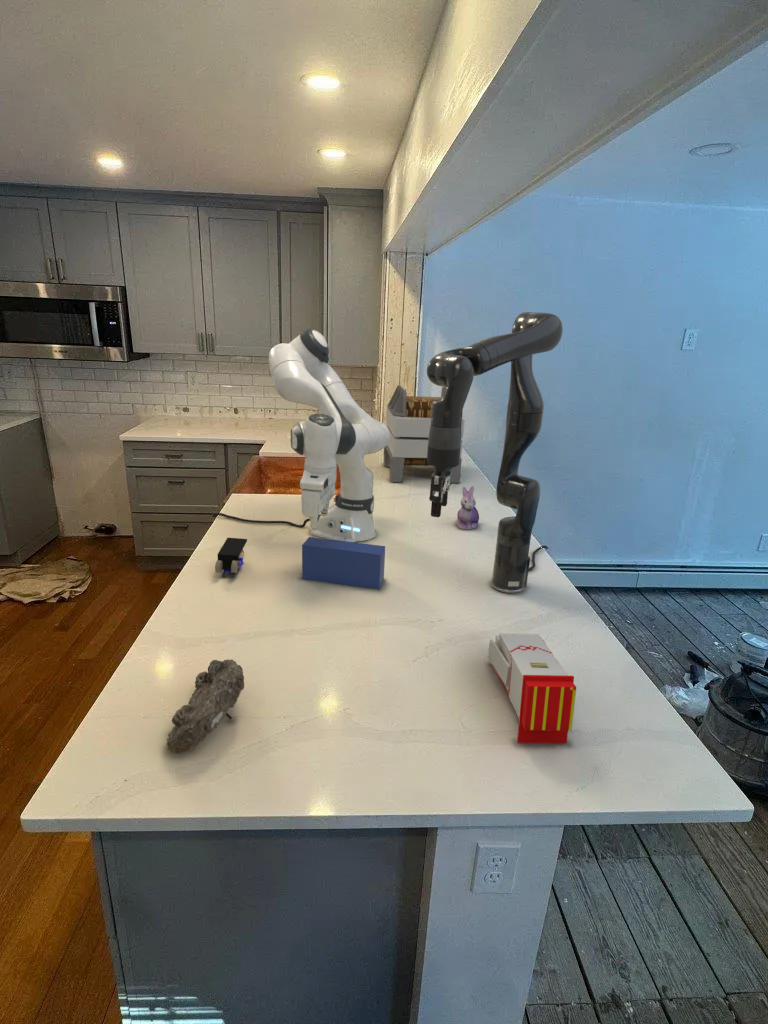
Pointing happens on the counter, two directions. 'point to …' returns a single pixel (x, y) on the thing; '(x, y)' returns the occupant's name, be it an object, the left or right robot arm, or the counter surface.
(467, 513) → the figurine
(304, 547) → the box
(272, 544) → the counter surface
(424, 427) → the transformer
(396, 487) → the counter surface
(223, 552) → the figurine character
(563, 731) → the toy
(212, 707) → the fossil
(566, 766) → the counter surface
